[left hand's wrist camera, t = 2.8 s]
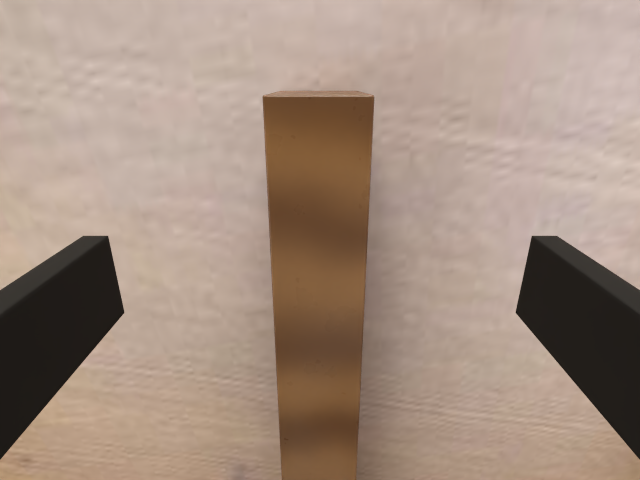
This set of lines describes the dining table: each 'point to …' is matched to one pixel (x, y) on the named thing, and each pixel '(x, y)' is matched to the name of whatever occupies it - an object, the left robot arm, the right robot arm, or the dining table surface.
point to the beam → (318, 272)
